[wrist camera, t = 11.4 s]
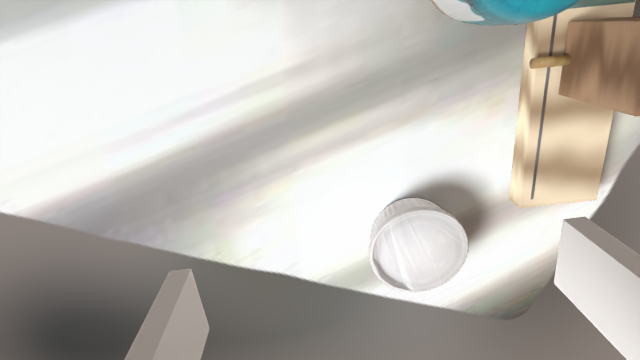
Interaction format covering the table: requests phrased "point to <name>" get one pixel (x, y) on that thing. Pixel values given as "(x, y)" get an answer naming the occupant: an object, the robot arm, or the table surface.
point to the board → (559, 118)
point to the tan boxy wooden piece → (600, 63)
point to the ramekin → (416, 245)
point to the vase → (502, 10)
